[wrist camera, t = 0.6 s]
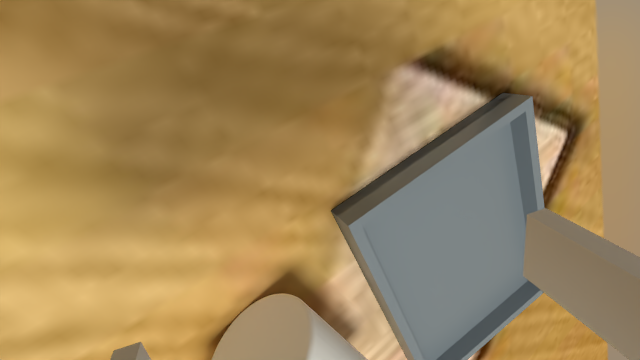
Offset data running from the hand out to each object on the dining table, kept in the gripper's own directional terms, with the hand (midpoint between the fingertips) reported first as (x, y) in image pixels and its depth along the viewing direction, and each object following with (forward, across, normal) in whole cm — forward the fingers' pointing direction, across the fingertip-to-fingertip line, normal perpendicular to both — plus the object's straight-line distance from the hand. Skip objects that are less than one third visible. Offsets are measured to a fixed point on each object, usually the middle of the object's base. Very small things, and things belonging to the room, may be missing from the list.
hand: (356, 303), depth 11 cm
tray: (+14, +13, -12) cm, 23 cm away
